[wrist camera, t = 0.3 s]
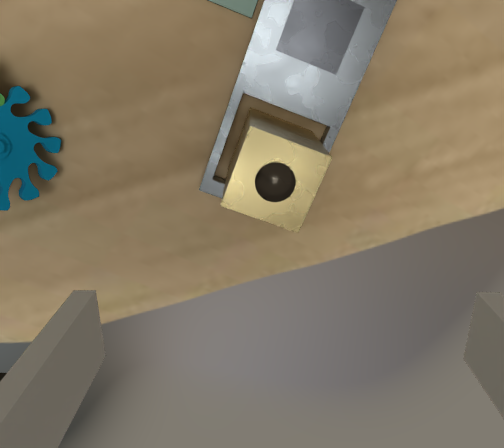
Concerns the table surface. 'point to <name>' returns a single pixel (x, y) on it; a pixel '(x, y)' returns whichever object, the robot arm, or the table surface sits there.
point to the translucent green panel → (238, 6)
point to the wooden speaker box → (275, 171)
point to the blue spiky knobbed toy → (22, 147)
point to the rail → (305, 64)
